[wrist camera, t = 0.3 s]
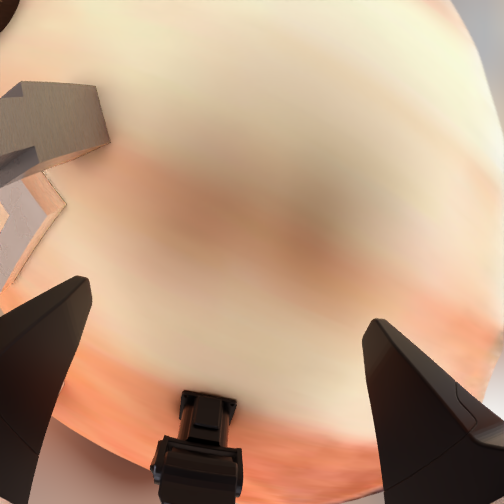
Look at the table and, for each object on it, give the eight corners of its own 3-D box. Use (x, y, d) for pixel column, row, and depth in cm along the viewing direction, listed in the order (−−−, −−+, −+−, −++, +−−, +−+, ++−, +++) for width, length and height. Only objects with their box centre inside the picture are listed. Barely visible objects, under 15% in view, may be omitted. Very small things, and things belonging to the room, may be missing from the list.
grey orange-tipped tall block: (110, 142, 20) (-28, 189, 8) (72, 160, 21) (-59, 218, 8) (95, 86, 18) (-47, 84, 5) (58, 106, 19) (-78, 128, 6)
